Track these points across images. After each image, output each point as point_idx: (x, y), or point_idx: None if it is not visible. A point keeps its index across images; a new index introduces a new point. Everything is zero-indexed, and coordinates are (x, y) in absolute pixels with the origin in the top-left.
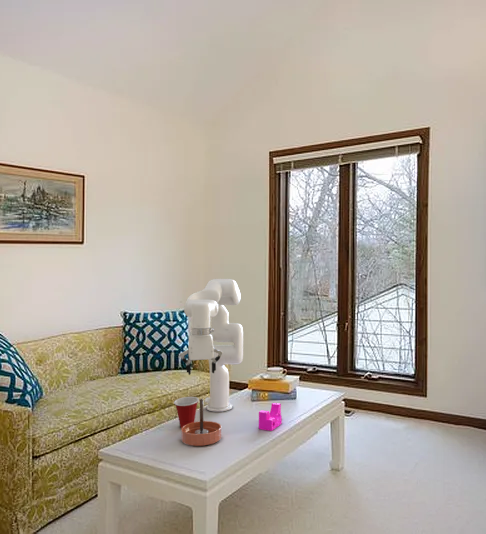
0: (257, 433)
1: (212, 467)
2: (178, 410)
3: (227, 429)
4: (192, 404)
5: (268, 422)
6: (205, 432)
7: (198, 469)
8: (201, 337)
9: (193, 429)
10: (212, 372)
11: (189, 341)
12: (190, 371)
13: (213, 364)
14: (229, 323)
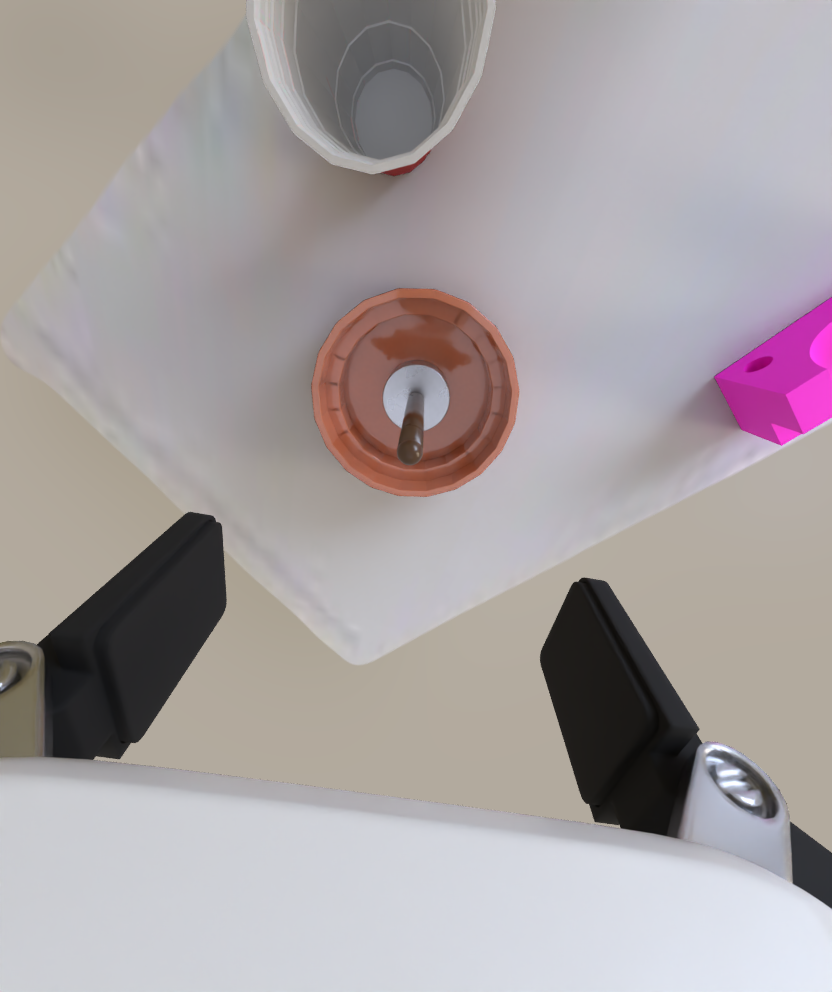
0: (667, 430)
1: (384, 624)
2: (305, 100)
3: (581, 305)
4: (405, 160)
5: (764, 427)
6: (428, 424)
7: (344, 620)
8: None
9: (392, 318)
10: (543, 652)
11: None
12: (201, 643)
13: (597, 802)
14: None
